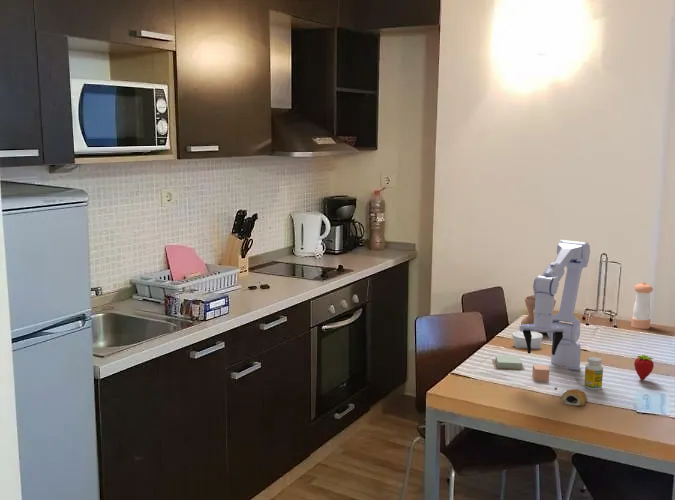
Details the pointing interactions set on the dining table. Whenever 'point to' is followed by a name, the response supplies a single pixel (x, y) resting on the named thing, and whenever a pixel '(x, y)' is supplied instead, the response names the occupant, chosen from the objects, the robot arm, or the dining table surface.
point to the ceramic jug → (532, 310)
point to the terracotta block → (540, 372)
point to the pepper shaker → (642, 306)
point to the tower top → (508, 362)
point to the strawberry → (643, 366)
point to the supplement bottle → (593, 374)
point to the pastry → (574, 397)
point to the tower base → (504, 368)
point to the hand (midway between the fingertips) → (541, 353)
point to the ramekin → (521, 342)
